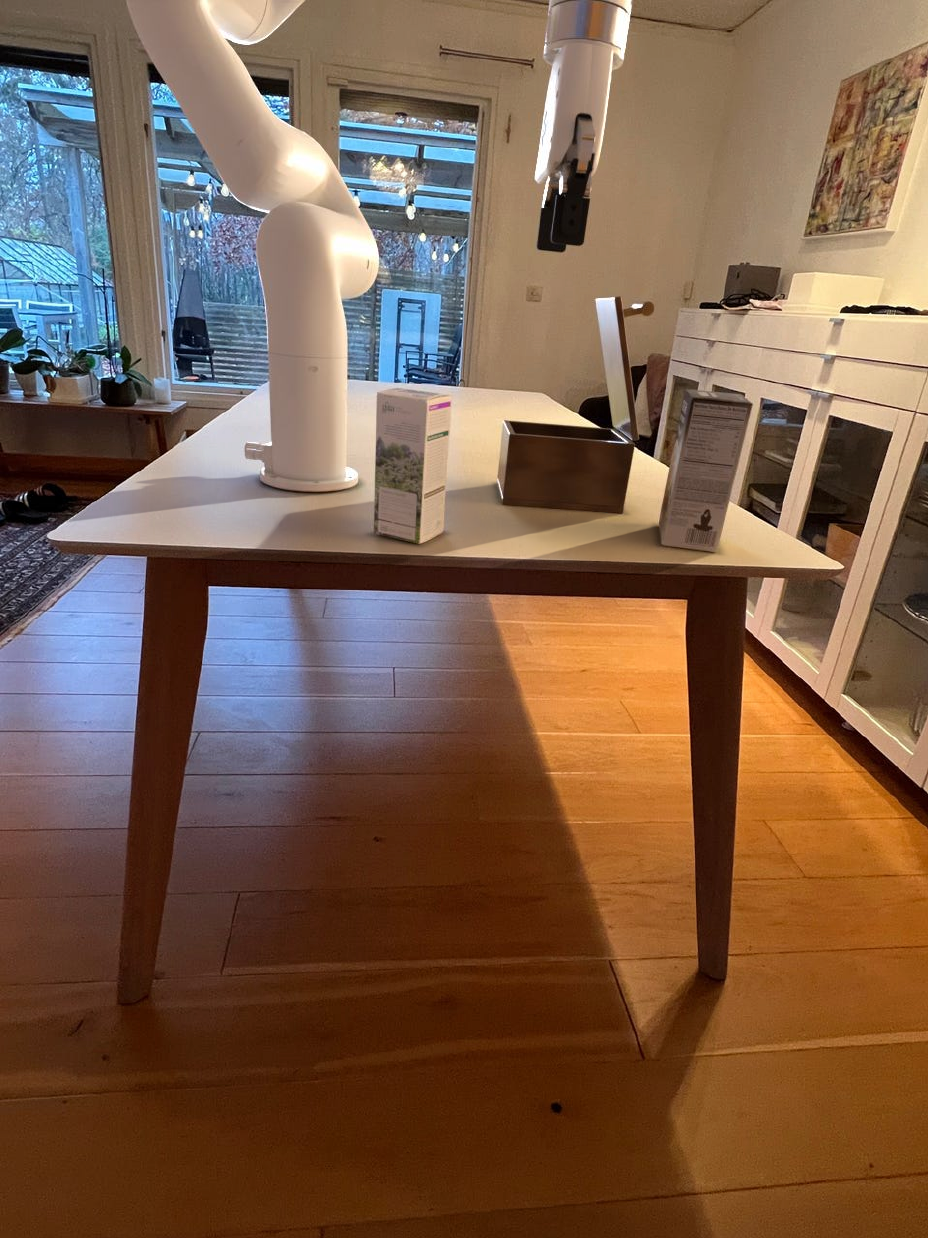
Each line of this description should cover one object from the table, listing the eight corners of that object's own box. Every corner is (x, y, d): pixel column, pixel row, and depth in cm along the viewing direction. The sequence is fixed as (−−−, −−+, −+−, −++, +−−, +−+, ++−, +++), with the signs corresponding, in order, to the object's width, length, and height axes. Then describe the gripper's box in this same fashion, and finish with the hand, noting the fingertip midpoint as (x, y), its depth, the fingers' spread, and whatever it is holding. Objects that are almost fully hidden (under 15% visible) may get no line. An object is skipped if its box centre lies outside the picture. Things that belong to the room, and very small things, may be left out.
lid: (614, 297, 78) (660, 286, 78) (595, 298, 89) (635, 288, 89) (632, 440, 85) (675, 431, 85) (612, 426, 96) (650, 417, 95)
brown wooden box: (502, 504, 88) (509, 433, 84) (496, 483, 99) (503, 419, 95) (622, 513, 89) (635, 443, 85) (604, 491, 99) (615, 428, 96)
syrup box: (445, 532, 75) (455, 393, 69) (419, 546, 70) (427, 397, 64) (399, 522, 77) (405, 386, 71) (370, 535, 72) (374, 389, 66)
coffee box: (656, 524, 85) (683, 387, 79) (709, 531, 84) (741, 393, 78) (660, 546, 77) (691, 395, 70) (719, 554, 76) (756, 402, 69)
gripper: (533, 64, 72) (513, 249, 79) (561, -1, 56) (533, 236, 64) (603, 74, 73) (577, 256, 80) (651, 11, 57) (613, 245, 64)
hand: (558, 247), depth 72 cm, fingers open, 9 cm apart
